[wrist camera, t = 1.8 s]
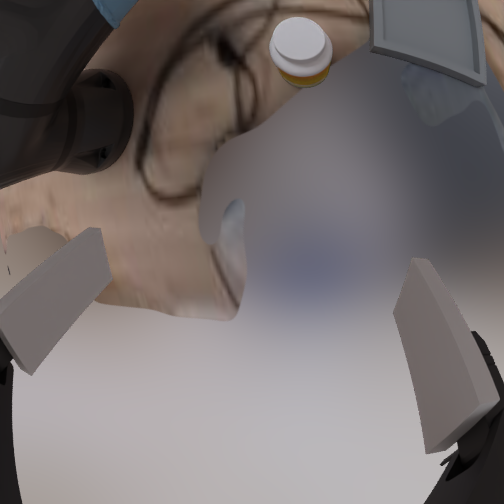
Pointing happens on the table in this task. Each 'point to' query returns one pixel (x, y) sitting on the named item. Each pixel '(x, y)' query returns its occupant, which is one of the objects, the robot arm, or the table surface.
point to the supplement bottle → (301, 52)
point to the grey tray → (431, 35)
